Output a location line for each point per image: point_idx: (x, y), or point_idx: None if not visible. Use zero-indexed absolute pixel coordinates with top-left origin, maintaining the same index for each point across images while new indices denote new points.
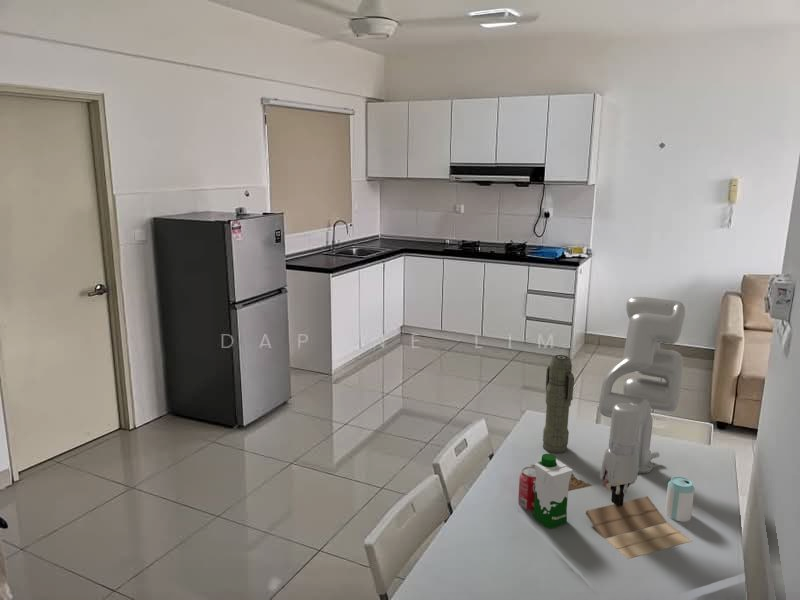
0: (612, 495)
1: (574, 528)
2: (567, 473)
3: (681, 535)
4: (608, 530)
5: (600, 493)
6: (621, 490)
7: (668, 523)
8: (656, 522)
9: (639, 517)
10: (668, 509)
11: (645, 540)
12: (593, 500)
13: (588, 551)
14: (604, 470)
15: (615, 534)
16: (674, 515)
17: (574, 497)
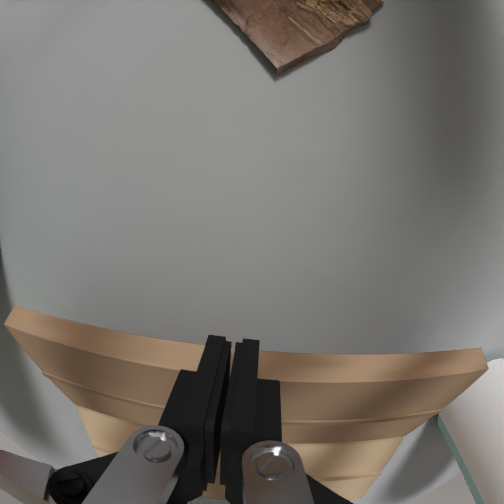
0: (168, 408)
1: (16, 278)
2: None
3: (362, 484)
4: (96, 404)
5: (364, 55)
6: (231, 501)
7: (400, 441)
8: (364, 438)
9: (308, 428)
10: (460, 428)
11: (216, 475)
12: (257, 91)
13: (26, 386)
14: None
15: (123, 418)
16: (446, 439)
17: (166, 27)
